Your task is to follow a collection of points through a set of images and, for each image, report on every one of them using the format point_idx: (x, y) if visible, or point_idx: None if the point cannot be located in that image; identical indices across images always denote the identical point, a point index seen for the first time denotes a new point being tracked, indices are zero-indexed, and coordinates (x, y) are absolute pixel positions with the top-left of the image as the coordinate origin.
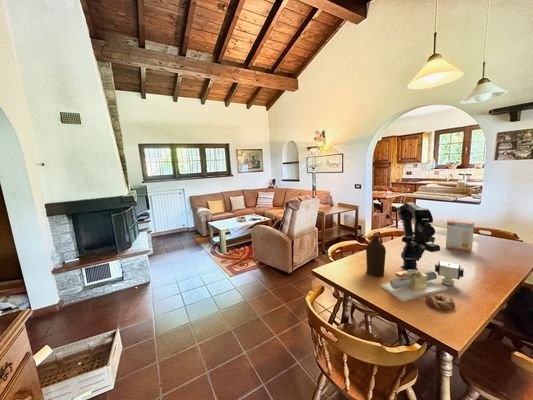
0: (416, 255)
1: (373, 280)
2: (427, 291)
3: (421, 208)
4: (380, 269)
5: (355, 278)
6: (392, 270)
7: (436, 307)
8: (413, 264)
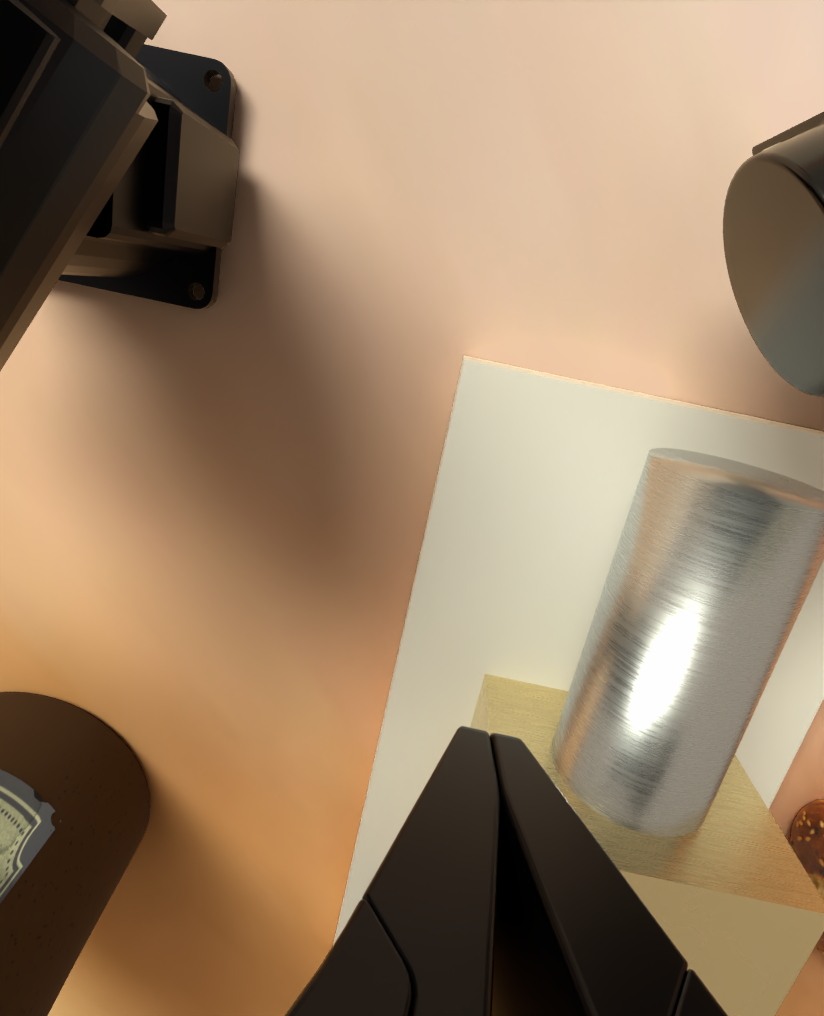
0: (82, 175)
1: (174, 923)
2: (758, 787)
3: None
4: (86, 934)
5: (51, 1013)
6: (58, 515)
7: None
8: (175, 229)
